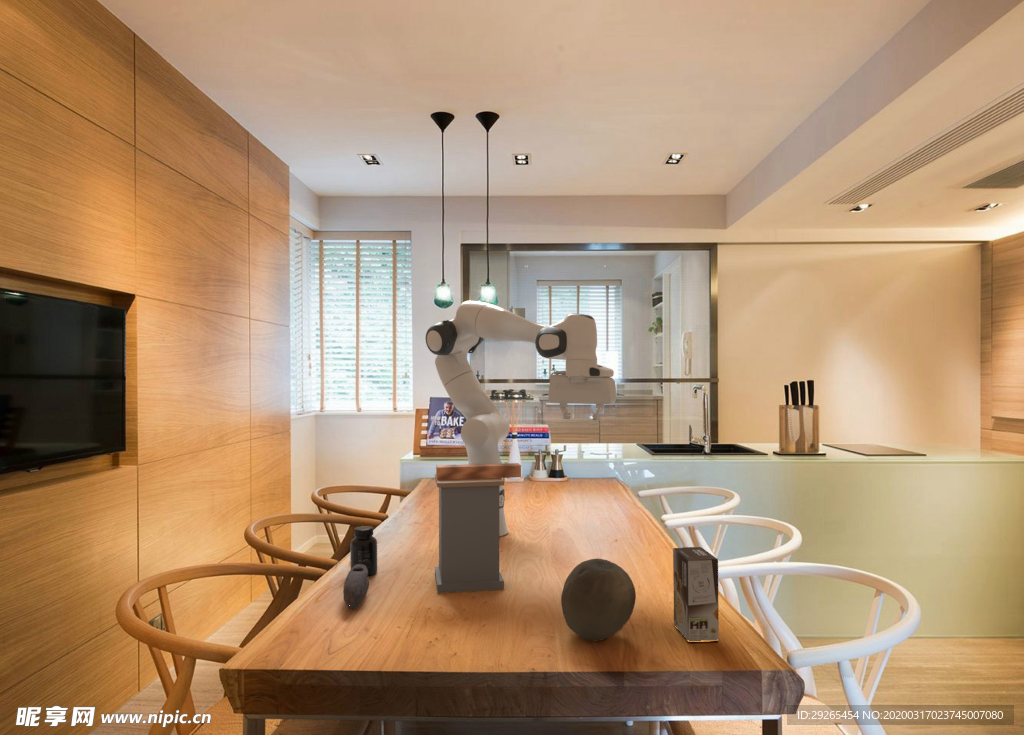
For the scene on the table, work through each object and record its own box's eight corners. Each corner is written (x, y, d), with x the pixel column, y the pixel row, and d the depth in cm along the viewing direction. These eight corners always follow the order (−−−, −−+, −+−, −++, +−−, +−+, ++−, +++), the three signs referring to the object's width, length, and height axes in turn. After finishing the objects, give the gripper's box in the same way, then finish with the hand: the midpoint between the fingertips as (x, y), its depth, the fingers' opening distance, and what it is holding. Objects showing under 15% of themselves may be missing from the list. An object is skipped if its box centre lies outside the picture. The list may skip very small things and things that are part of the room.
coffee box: (720, 642, 120) (719, 559, 121) (688, 643, 120) (687, 560, 120) (702, 623, 130) (701, 546, 130) (671, 624, 129) (671, 547, 129)
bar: (436, 479, 153) (436, 467, 153) (436, 477, 157) (436, 465, 157) (521, 477, 157) (521, 465, 157) (518, 474, 161) (518, 463, 161)
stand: (437, 593, 148) (437, 483, 148) (434, 574, 162) (434, 474, 162) (504, 589, 151) (504, 481, 151) (495, 571, 164) (495, 472, 165)
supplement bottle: (382, 571, 164) (382, 525, 165) (368, 579, 158) (368, 532, 158) (359, 568, 167) (359, 523, 167) (344, 576, 160) (345, 529, 160)
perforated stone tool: (361, 615, 135) (361, 582, 135) (336, 615, 134) (336, 583, 134) (372, 591, 150) (372, 562, 150) (349, 591, 149) (349, 562, 149)
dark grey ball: (588, 659, 113) (588, 576, 114) (548, 631, 126) (548, 556, 126) (649, 644, 120) (649, 565, 120) (605, 618, 132) (605, 547, 133)
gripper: (544, 370, 179) (544, 418, 179) (608, 370, 167) (608, 422, 167) (555, 370, 184) (555, 417, 184) (618, 370, 172) (619, 420, 172)
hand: (581, 419), depth 175 cm, fingers open, 8 cm apart
